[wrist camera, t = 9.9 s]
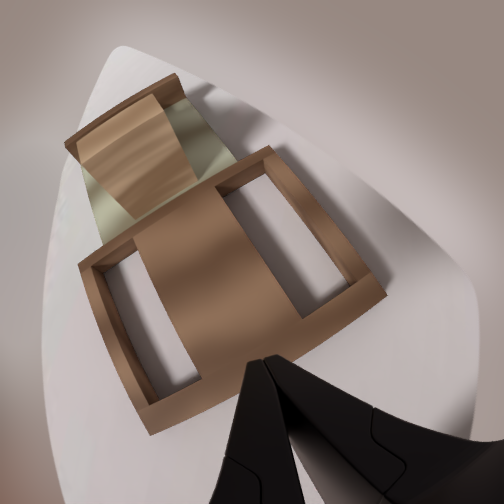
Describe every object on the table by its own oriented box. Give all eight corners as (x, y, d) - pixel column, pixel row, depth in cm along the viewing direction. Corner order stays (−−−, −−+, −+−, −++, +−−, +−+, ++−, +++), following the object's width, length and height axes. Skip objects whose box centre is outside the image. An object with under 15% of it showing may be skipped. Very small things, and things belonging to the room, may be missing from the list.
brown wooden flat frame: (379, 301, 20) (402, 284, 16) (161, 430, 19) (129, 445, 14) (211, 94, 30) (201, 60, 25) (68, 183, 28) (42, 159, 24)
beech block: (198, 180, 23) (163, 110, 16) (135, 220, 23) (81, 164, 15) (158, 117, 27) (128, 57, 19) (107, 148, 26) (68, 96, 19)
